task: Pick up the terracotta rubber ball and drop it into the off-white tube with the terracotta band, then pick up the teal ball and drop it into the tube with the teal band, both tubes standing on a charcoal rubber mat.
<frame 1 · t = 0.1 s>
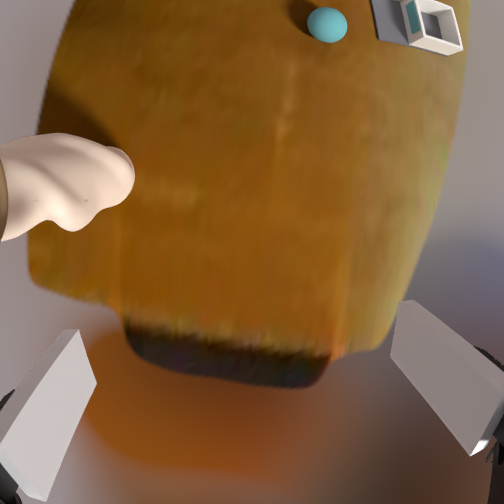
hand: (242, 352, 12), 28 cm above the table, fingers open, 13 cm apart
mat: (406, 5, 32), on the table
water bottle: (101, 179, 36), on the table
ball teal: (327, 24, 31), point 2 cm above the table
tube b: (423, 29, 33), resting on mat
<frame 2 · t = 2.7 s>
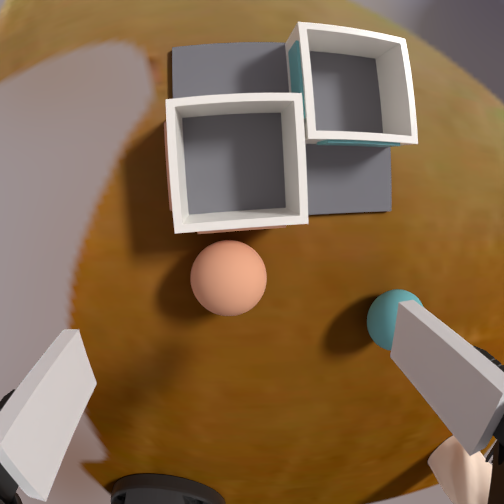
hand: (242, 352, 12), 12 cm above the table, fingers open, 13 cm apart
mat: (288, 125, 21), on the table
water bottle: (447, 450, 35), on the table
ball teal: (396, 320, 23), point 2 cm above the table
ball terracotta: (228, 278, 21), point 2 cm above the table
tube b: (338, 94, 21), resting on mat
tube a: (234, 162, 21), resting on mat
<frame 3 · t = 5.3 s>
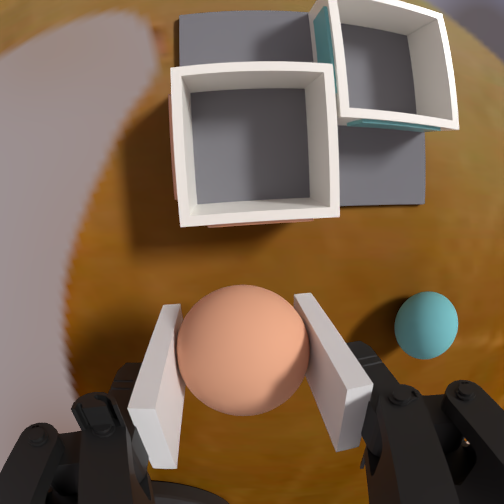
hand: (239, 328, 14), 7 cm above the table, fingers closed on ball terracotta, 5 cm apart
mat: (313, 103, 18), on the table
ball teal: (426, 325, 20), point 2 cm above the table
ball terracotta: (242, 350, 12), point 9 cm above the table, touching gripper
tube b: (368, 72, 17), resting on mat
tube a: (250, 144, 18), resting on mat
when the fingers open (6 cm above the table, at t = 7.3 s): ball terracotta drops 5 cm, resting on mat.
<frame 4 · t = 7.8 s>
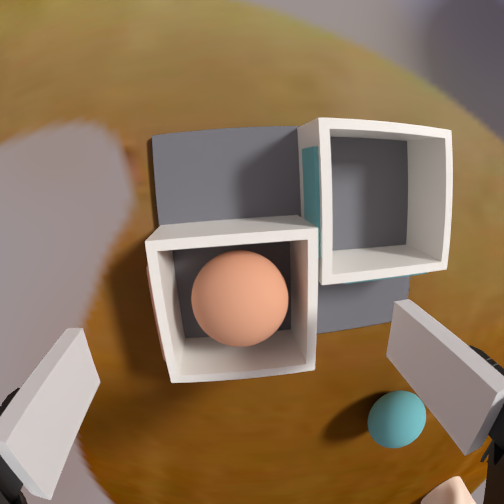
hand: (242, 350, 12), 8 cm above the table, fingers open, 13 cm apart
mat: (298, 237, 19), on the table
water bottle: (440, 491, 33), on the table
ball teal: (396, 419, 21), point 2 cm above the table
ball terracotta: (239, 298, 16), point 3 cm above the table, tilted 6°, touching mat
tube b: (359, 193, 18), resting on mat
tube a: (233, 282, 19), resting on mat
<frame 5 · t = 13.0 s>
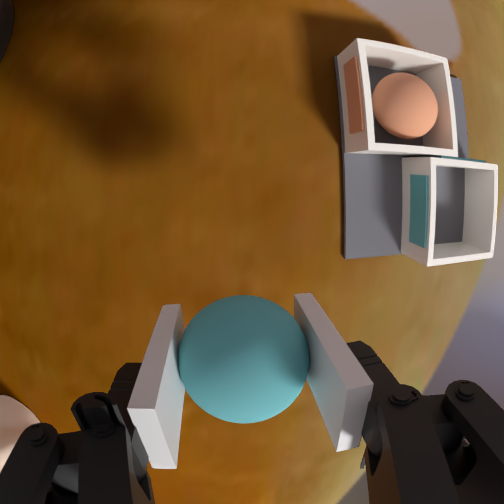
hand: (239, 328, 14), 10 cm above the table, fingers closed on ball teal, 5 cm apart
mat: (412, 157, 23), on the table
water bottle: (16, 418, 26), on the table
ball teal: (243, 359, 12), point 12 cm above the table, touching gripper
ball terracotta: (405, 105, 19), point 3 cm above the table, tilted 8°, touching mat
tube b: (435, 204, 24), resting on mat
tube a: (384, 107, 22), resting on mat
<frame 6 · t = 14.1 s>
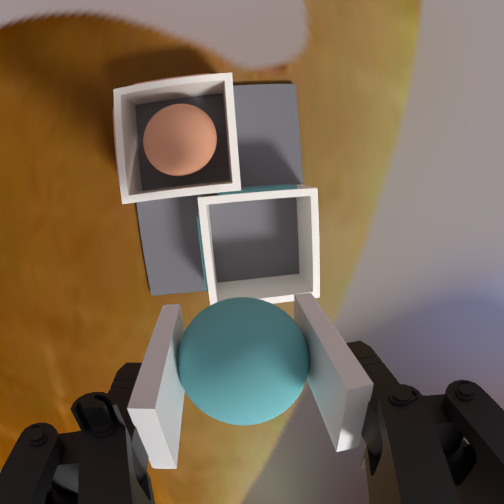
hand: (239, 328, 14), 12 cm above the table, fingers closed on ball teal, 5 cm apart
mat: (218, 189, 24), on the table
ball teal: (243, 361, 12), point 15 cm above the table, touching gripper
ball terracotta: (179, 139, 20), point 3 cm above the table, touching mat
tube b: (255, 236, 25), resting on mat
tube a: (182, 141, 23), resting on mat
when the fingers open (6 cm above the table, at t = 15.5 s): ball teal drops 5 cm, resting on mat.
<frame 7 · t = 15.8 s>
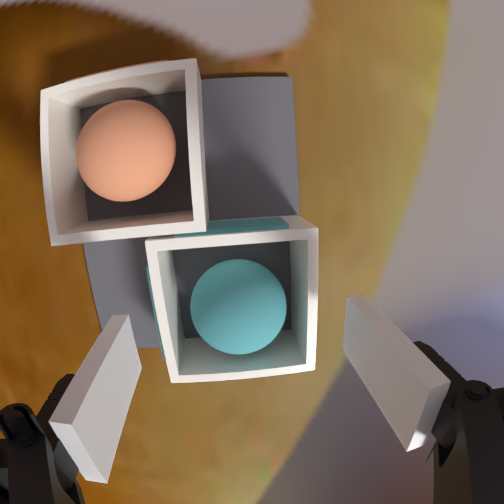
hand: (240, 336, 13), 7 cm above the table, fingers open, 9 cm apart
mat: (185, 220, 18), on the table
ball teal: (238, 306, 16), point 3 cm above the table, touching mat
ball terracotta: (125, 150, 14), point 3 cm above the table, touching mat
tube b: (233, 282, 19), resting on mat
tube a: (137, 155, 17), resting on mat
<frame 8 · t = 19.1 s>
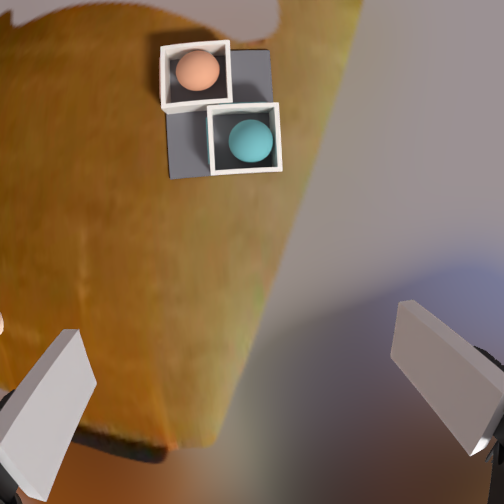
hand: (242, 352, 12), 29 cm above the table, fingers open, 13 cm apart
mat: (219, 110, 36), on the table
ball teal: (250, 141, 34), point 3 cm above the table, tilted 19°, touching mat
ball terracotta: (197, 70, 31), point 3 cm above the table, tilted 14°, touching mat
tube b: (242, 141, 37), resting on mat
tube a: (198, 82, 34), resting on mat
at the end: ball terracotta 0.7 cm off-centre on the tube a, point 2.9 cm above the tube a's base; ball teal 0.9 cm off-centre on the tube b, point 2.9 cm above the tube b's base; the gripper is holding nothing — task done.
